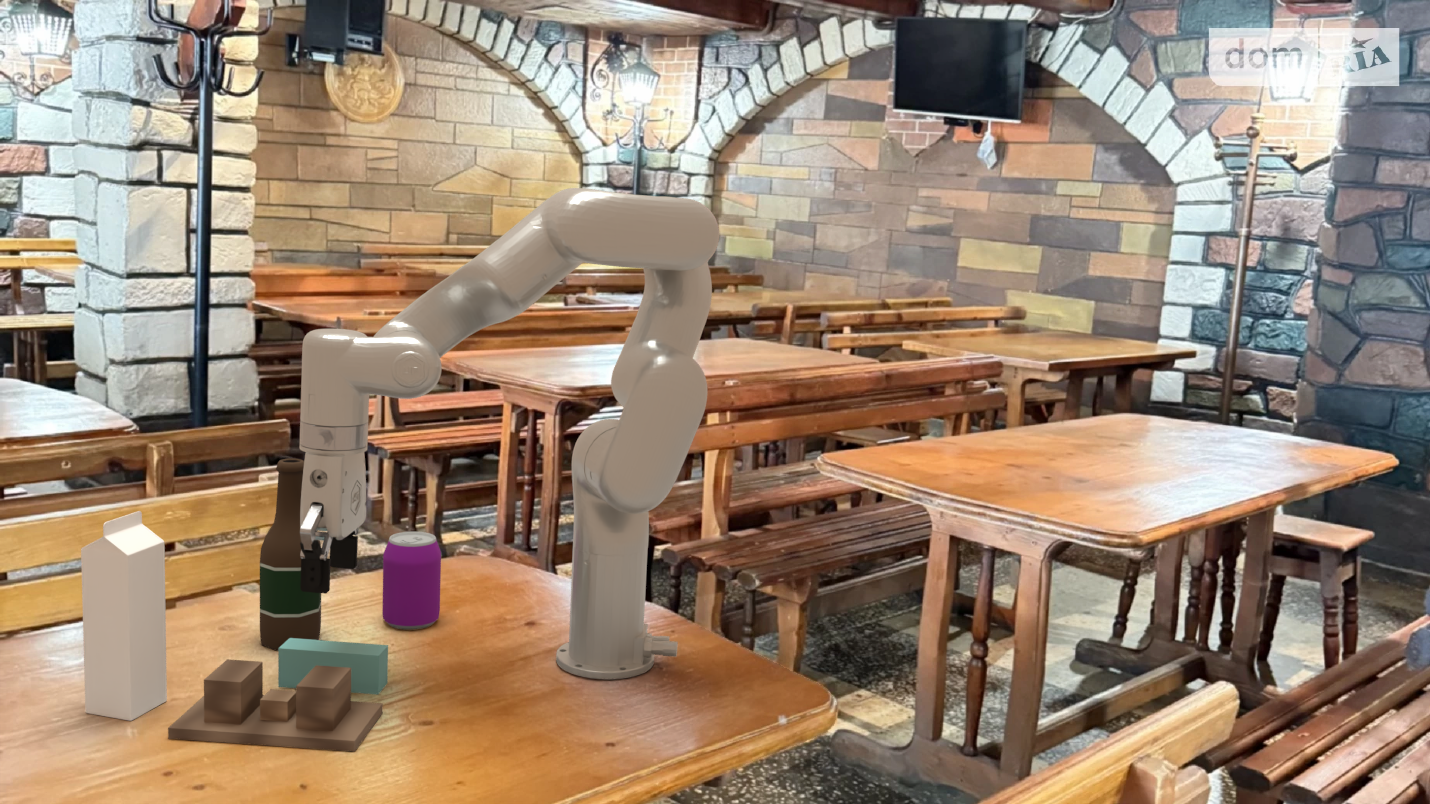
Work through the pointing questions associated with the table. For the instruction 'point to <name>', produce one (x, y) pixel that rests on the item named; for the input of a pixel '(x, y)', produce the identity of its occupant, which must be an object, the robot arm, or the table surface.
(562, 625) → the table surface
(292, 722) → the ledge stand
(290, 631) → the beer bottle
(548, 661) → the table surface
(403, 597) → the beverage can
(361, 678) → the teal bar
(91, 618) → the milk
